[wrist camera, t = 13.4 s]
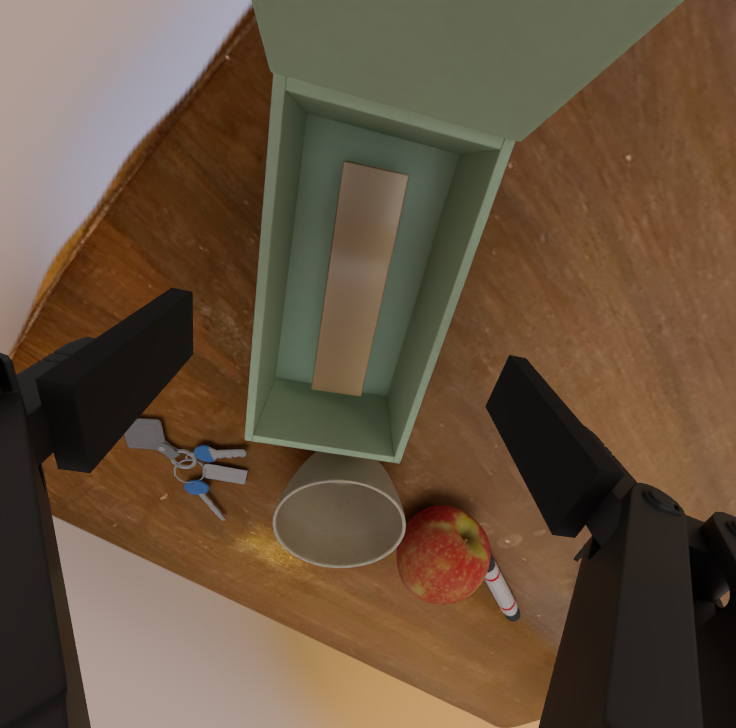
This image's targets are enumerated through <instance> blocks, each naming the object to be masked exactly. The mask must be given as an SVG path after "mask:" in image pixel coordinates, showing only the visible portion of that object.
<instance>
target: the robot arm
mask: <svg viewBox="0 0 736 728" xmlns="http://www.w3.org/2000/svg"><path fill="white" fill-rule="evenodd" d="M192 355H193V292H191V291H186V290H181V289H176V288H170V289H169V290H167V291H166V292H164V293H163V294H161V295H160V296H159V297H157V298H156V299H154V300H153V301H151V302H150V303H148V304H147V305H145V306H144V307H142V308H141V309H139V310H138V311H136V312H135V313H133V314H132V315H130V316H129V317H127V318H126V319H124V320H123V321H121V322H120V323H118V324H117V325H115V326H114V327H112V328H111V329H109V330H108V331H106V332H105V333H103V334H102V335H100V336H99V337H97V338H90V337H86V338H82V339H79V340H76V341H73V342H70V343H67V344H66V345H64V346H63V347H61V348H59V349H58V350H56V351H54V354H52V353H51V354H50V355H48V356H46V357H45V358H43V360H42V361H38V362H37V363H35V364H34V365H32V366H30V367H29V368H27V369H25V370H24V371H22V372H21V373H19V374H17V375H16V373H15V370H14V366H13V363H12V360H11V359H10V358H9V356H8V355H5V354H2V353H0V728H91V727H90V721H89V716H88V710H87V704H86V699H85V694H84V688H83V683H82V678H81V672H80V666H79V661H78V655H77V650H76V645H75V639H74V634H73V628H72V623H71V617H70V612H69V607H68V601H67V596H66V590H65V585H64V579H63V575H62V568H61V563H60V557H59V553H58V547H57V541H56V536H55V531H54V525H53V519H52V514H51V508H50V503H49V498H48V492H47V487H46V481H45V476H44V471H43V468H42V463H43V462H44V461H45V460H46V459H47V458H48V457H49V456H50V455H51V454H52V453H53V452H54V455H55V459H56V463H57V466H58V469H63V470H70V471H78V472H85V473H91V472H92V471H93V469H94V468H95V467H96V466H97V465H98V464H99V462H100V461H101V460H102V459H103V458H104V457H105V456H106V454H107V453H108V452H109V451H110V450H111V449H112V447H113V446H114V445H115V444H116V443H117V442H118V440H119V439H120V438H121V437H122V436H123V435H124V434H125V432H126V431H127V430H128V429H129V428H130V427H131V425H132V424H133V423H134V422H135V421H136V420H137V419H138V417H139V416H140V415H141V414H142V413H143V412H144V410H145V409H146V408H147V407H148V406H149V405H150V404H151V402H152V401H153V400H154V399H155V398H156V397H157V395H158V394H159V393H160V392H161V391H162V390H163V388H164V387H165V386H166V385H167V384H168V383H169V382H170V380H171V379H172V378H173V377H174V376H175V375H176V373H177V372H178V371H179V370H180V369H181V368H182V367H183V365H184V364H185V363H186V362H187V361H188V360H189V358H190V357H191V356H192ZM486 408H487V410H488V412H489V414H490V416H491V418H492V420H493V422H494V424H495V426H496V428H497V429H498V431H499V433H500V435H501V437H502V439H503V441H504V443H505V445H506V447H507V449H508V451H509V452H510V454H511V456H512V458H513V460H514V462H515V464H516V466H517V468H518V470H519V472H520V474H521V476H522V477H523V479H524V481H525V483H526V485H527V487H528V489H529V491H530V493H531V495H532V497H533V499H534V501H535V502H536V504H537V506H538V508H539V510H540V512H541V514H542V516H543V518H544V520H545V522H546V524H547V525H548V527H549V529H550V531H551V533H552V535H557V536H565V537H572V538H575V537H576V536H577V535H578V533H579V532H580V531H581V530H582V528H583V527H584V526H585V525H586V526H587V527H588V529H589V530H590V532H591V534H592V537H591V538H590V539H589V540H588V542H587V543H586V544H585V545H584V546H583V548H582V549H581V550H580V551H579V553H578V554H577V555H576V556H575V558H574V560H575V561H578V560H579V559H580V558H582V561H581V565H580V569H579V572H578V576H577V580H576V584H575V588H574V592H573V596H572V600H571V604H570V607H569V611H568V615H567V619H566V623H565V627H564V631H563V635H562V639H561V642H560V646H559V650H558V654H557V658H556V662H555V666H554V670H553V674H552V677H551V681H550V685H549V689H548V693H547V697H546V701H545V705H544V709H543V712H542V716H541V720H540V724H539V728H736V517H734V516H732V515H729V514H726V513H723V512H715V513H714V514H713V515H712V516H711V517H710V518H709V519H708V520H707V521H706V522H702V521H700V520H697V519H695V518H692V517H689V516H687V515H685V513H684V510H683V509H682V508H681V507H680V506H679V504H678V503H677V502H676V501H674V500H673V499H672V498H671V497H670V496H669V495H667V494H665V493H664V492H662V491H661V490H659V489H657V488H655V487H653V486H650V485H648V484H643V483H637V482H636V480H635V479H634V478H633V477H632V476H631V475H630V474H629V472H628V471H627V470H626V469H625V468H624V467H623V466H622V464H621V463H620V462H619V461H618V460H617V459H616V458H615V456H613V455H612V453H611V452H610V451H609V450H608V448H607V447H604V444H603V443H602V441H601V440H600V439H599V438H598V437H597V436H596V435H595V434H594V433H593V432H592V431H590V430H589V429H588V428H587V427H585V426H584V425H583V424H582V423H581V422H580V421H579V420H578V419H577V418H576V416H575V415H574V414H573V413H572V412H571V411H570V409H569V408H568V407H567V406H566V405H565V403H564V402H563V401H562V400H561V399H560V398H559V396H558V395H557V394H556V393H555V392H554V391H553V389H552V388H551V387H550V386H549V385H548V384H547V382H546V381H545V380H544V379H543V378H542V377H541V375H540V374H539V373H538V372H537V371H536V370H535V368H534V367H533V366H532V365H531V364H530V363H529V361H528V360H527V359H526V358H522V357H517V356H512V355H509V357H508V359H507V361H506V364H505V366H504V368H503V370H502V372H501V374H500V376H499V379H498V381H497V383H496V385H495V387H494V389H493V391H492V393H491V396H490V398H489V400H488V402H487V404H486ZM729 590H730V599H729V602H728V604H727V605H726V606H725V607H724V606H723V604H722V602H721V600H720V598H721V597H722V596H723V595H724V594H726V593H727V592H728V591H729Z"/></svg>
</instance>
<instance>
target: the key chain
mask: <svg viewBox="0 0 736 728" xmlns="http://www.w3.org/2000/svg"><path fill="white" fill-rule="evenodd" d="M124 435H125V439H126V442H127V445H128V446H129V447H130V448H141V449H155V450H157V451H159V452H161V453H163V454H164V455H165V456H166V457H168V458H169V459H171V462H172V463H173V464H174V465H175V468H174V475H175V477H176V478H177V479H178V480H180V481H182V482H183V483H185V485H184V488H185V490H186V491H187V492H189V493H191V494H194V495H199V496H200V497H201V498H202V499H203V501H205V502H206V503H207V505H208V506H209V507H210V509H211V510H213V512H214V513H215V514H216V515H217V516H218V517H219V518H220V519H221V520H222V521H223V520H224V521H225V520H226V519H225V518H224V516H223V515H222V514H221V512H220V511H219V509H217V508H216V506H215V505H214V504H213V502H212V501H211V500H210V499H209V498H208V497H207V496H206V493H207V492H208V491H209V486H208V485H207V484H206V483H205V482H203V481H200V480H202V479H203V478H204V477H205V478H209V479H215V480H220V481H226V482H232V483H238V484H244V485H245V481H246V476H247V472H248V471H247V470H241V469H235V468H230V467H224V466H218V465H213V464H205V465H204V466H203V465H202V464H201V463H200V462H198V461H197V460H196V459H197V458H198V459H200V460H202V461H204V462H214V461H216V459H217V458H219V459H222V458H224V457H226V458H232V457H231V456H233V457H234V458H236V456H241V457H244V456H246V451H245V450H244V449H233V450H215V449H213V448H211V447H210V446H208V445H200V446H197V447H196V448H195V450H194V452H190V451H188V450H185V449H178V448H176V447H174V446H172V445H170V444H169V443H168V442H167V441H166V440H165V436H164V432H163V428H162V423H161V421H160V420H158V419H144V418H138V419H137V420H136V421H135V422H134V423H133V424H132V425H131V427H130V428H129V429H128V430H127V431H126V432H125V434H124ZM181 453H185V454H187V455H186V457H185V459H186V460H183V461H181V462H179V463H178V462H177V461H176V460H175V458H176V457H177V456H178V455H180V454H181ZM187 456H190V457H191V458H192V459H188V458H187ZM185 461H193V462H192V464H191V465H182V464H180V463H182V462H185ZM196 463H199V464H200V465H201V466H202V467H203V476H202V478H201V479H199V480H190V481H188V482H185V481H183V480H181V479H179V478H178V477H177V475H176V471H175V469H176V468H177V467H179V468H182V469H190V468H192V467H194V466H195V465H196ZM205 469H206V470H205Z"/></svg>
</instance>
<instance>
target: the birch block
mask: <svg viewBox="0 0 736 728" xmlns="http://www.w3.org/2000/svg"><path fill="white" fill-rule="evenodd" d="M408 181H409V175H408V174H404V173H399V172H395V171H390V170H386V169H381V168H377V167H372V166H368V165H363V164H358V163H354V162H349V161H343V164H342V172H341V179H340V186H339V193H338V200H337V208H336V215H335V222H334V229H333V236H332V244H331V251H330V258H329V265H328V272H327V280H326V287H325V294H324V301H323V308H322V316H321V323H320V330H319V337H318V344H317V351H316V359H315V366H314V373H313V380H312V387H311V388H312V389H313V390H320V391H327V392H333V393H340V394H347V395H354V396H361V395H362V390H363V386H364V381H365V377H366V372H367V368H368V363H369V359H370V354H371V350H372V345H373V340H374V336H375V331H376V327H377V322H378V318H379V313H380V309H381V304H382V300H383V295H384V290H385V286H386V281H387V277H388V272H389V268H390V263H391V259H392V254H393V250H394V245H395V240H396V236H397V231H398V227H399V222H400V218H401V213H402V209H403V204H404V200H405V195H406V190H407V186H408Z"/></svg>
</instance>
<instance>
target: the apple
mask: <svg viewBox="0 0 736 728" xmlns="http://www.w3.org/2000/svg"><path fill="white" fill-rule="evenodd" d="M490 559H491V551H490V545H489V541H488V537H487V535H486V533H485V531H484V530H483V528H482V527H481V526H480V524H479V523H478V522H477V521H476V520H475V519H474V518H472V517H471V516H470V515H468V514H467V513H465V512H464V511H462V510H460V509H457V508H454V507H451V506H447V505H435V506H430V507H428V508H426V509H424V510H422V511H420V512H418V513H417V514H416V515H414V516H413V517H412V518H411V519H410V521H409V522H408V523H407V525H406V530H405V534H404V537H403V539H402V541H401V542H400V544H399V545H398V547H397V565H398V570H399V574H400V577H401V579H402V582H403V583H404V585H405V587H406V588H407V589H408V590H409V591H410V592H411V593H412V594H413V595H414V596H416V597H417V598H419V599H420V600H422V601H425V602H428V603H432V604H443V605H444V604H452V603H456V602H458V601H461V600H463V599H465V598H466V597H468V596H469V595H471V594H472V593H473V592H474V591H475V590H476V589H477V588H478V587H479V586H480V584H481V583H482V582H483V580H484V578H485V576H486V574H487V572H488V569H489V564H490Z"/></svg>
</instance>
